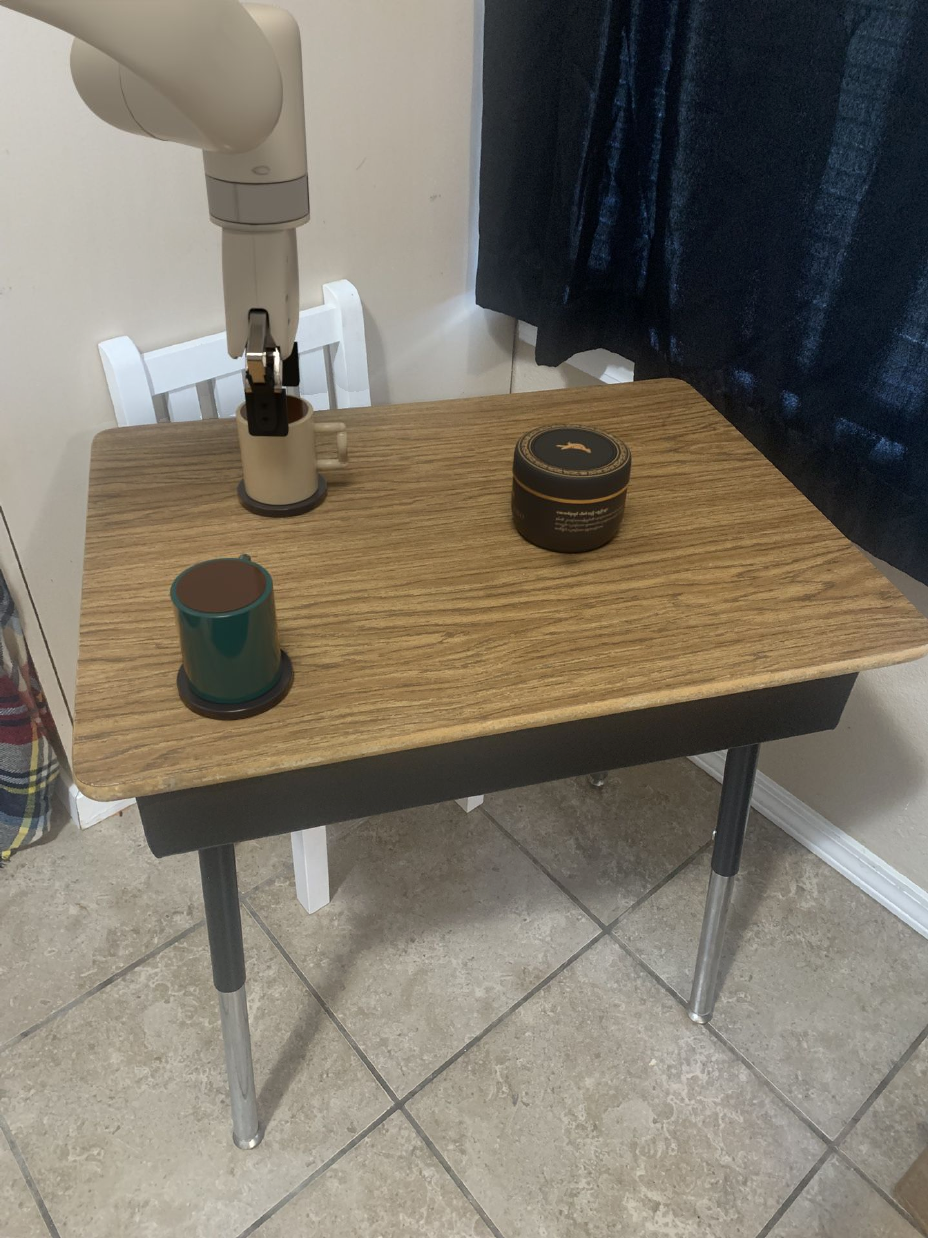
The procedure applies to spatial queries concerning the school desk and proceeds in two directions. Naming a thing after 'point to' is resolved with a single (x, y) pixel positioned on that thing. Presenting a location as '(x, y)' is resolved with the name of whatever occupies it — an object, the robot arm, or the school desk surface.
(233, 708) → the saucer front
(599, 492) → the jar
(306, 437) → the cup back
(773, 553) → the school desk surface
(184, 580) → the cup front
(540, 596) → the school desk surface
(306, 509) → the dark grey round coaster
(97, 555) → the school desk surface
